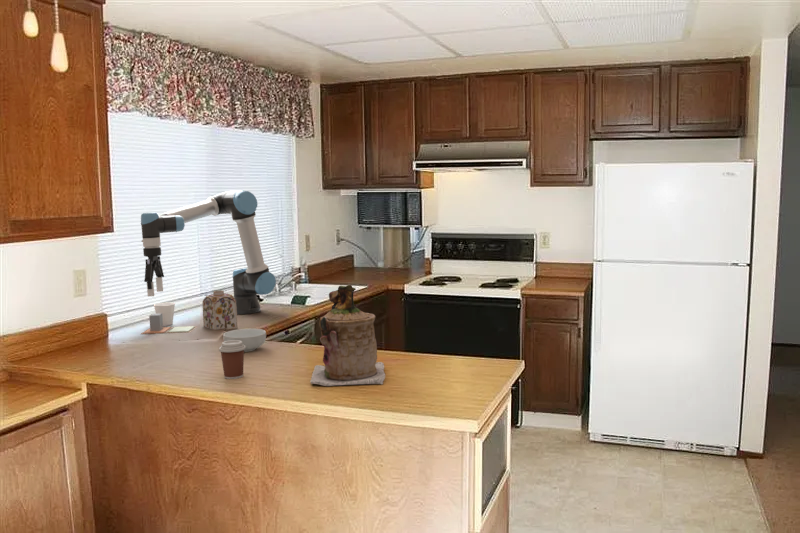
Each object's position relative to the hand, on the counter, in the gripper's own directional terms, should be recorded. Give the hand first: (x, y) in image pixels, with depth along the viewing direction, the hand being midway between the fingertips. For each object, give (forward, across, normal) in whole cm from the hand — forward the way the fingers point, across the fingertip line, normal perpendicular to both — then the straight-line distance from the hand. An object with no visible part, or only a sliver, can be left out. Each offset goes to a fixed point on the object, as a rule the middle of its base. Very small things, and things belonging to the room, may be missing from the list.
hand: (155, 293), depth 317 cm
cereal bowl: (+18, +40, +46) cm, 64 cm away
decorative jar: (+19, -5, +27) cm, 33 cm away
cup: (+18, -15, -1) cm, 24 cm away
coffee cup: (+18, +81, +49) cm, 97 cm away
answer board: (+18, 0, +5) cm, 19 cm away
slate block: (+16, 0, -1) cm, 16 cm away
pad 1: (+17, 0, 0) cm, 17 cm away
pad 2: (+17, 0, +11) cm, 20 cm away
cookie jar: (+18, +87, +89) cm, 126 cm away
